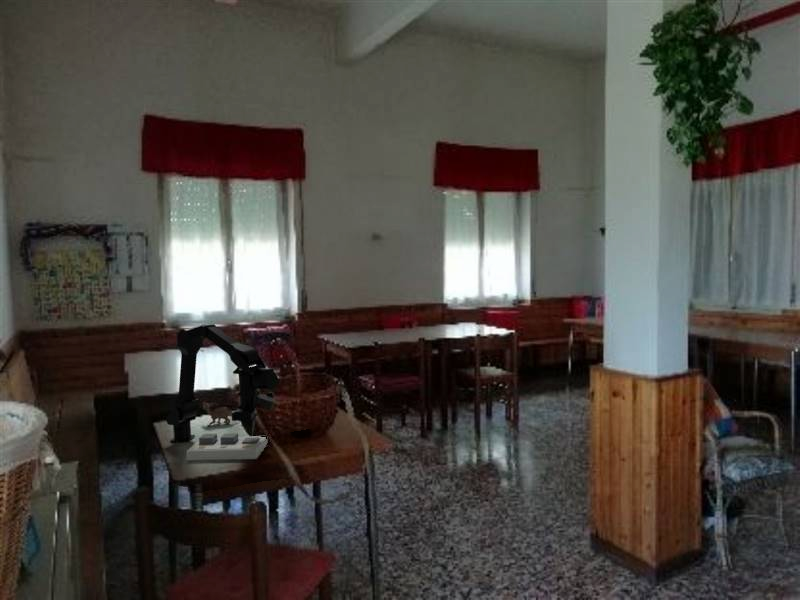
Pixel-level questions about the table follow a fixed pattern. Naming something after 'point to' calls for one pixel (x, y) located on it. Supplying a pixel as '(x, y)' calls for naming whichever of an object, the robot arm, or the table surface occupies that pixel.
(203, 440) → the button
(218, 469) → the table surface
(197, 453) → the button panel
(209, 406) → the dinosaur figurine
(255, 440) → the button
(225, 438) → the middle button
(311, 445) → the table surface
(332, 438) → the table surface
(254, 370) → the robot arm
